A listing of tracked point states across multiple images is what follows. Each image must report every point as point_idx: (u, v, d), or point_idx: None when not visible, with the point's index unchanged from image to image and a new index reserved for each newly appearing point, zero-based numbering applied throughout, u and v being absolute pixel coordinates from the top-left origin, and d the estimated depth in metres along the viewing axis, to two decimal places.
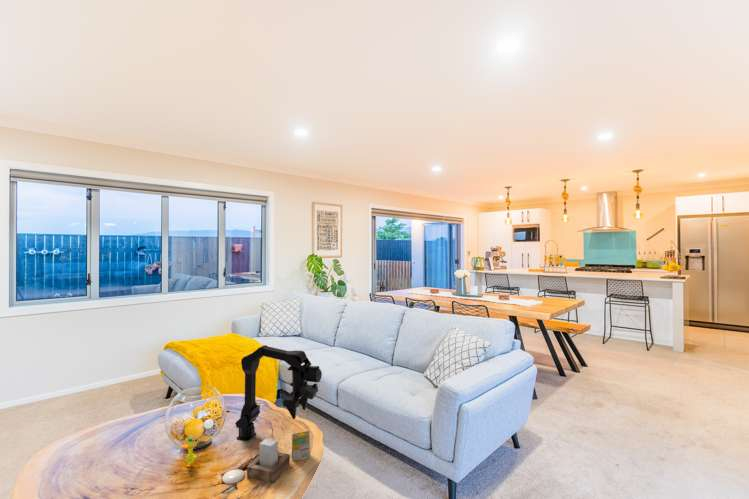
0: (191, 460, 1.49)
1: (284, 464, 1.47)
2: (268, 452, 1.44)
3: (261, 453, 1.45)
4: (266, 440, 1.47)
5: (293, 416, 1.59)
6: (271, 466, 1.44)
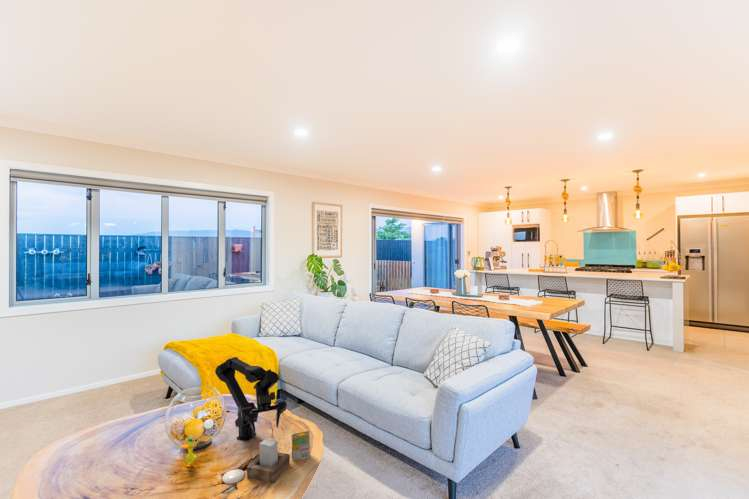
0: (191, 460, 1.49)
1: (284, 464, 1.47)
2: (268, 452, 1.44)
3: (261, 453, 1.45)
4: (266, 440, 1.47)
5: (253, 429, 1.52)
6: (271, 466, 1.44)
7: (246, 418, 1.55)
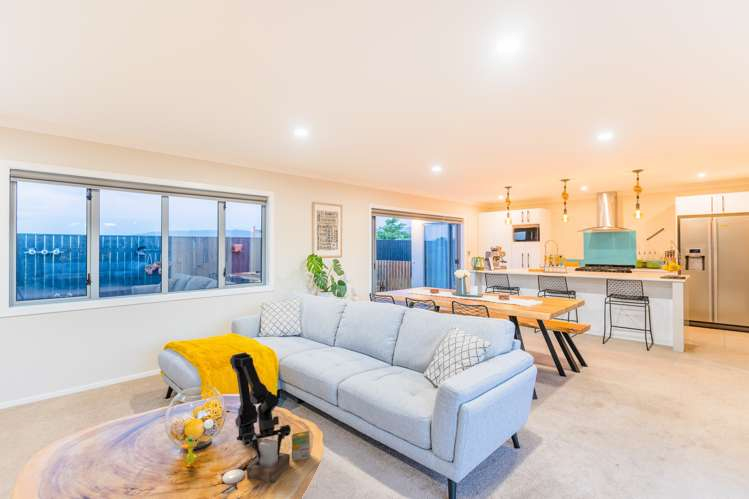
0: (191, 460, 1.49)
1: (284, 464, 1.47)
2: (268, 452, 1.44)
3: (261, 453, 1.45)
4: (266, 440, 1.47)
5: (258, 456, 1.44)
6: (271, 465, 1.44)
7: (250, 444, 1.47)
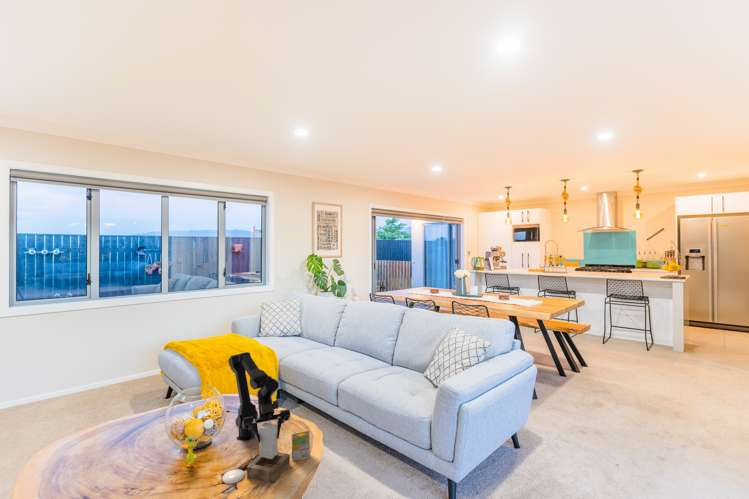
0: (191, 460, 1.49)
1: (284, 464, 1.47)
2: (267, 436, 1.44)
3: (261, 437, 1.45)
4: (265, 424, 1.47)
5: (257, 440, 1.44)
6: (270, 449, 1.44)
7: (250, 428, 1.47)
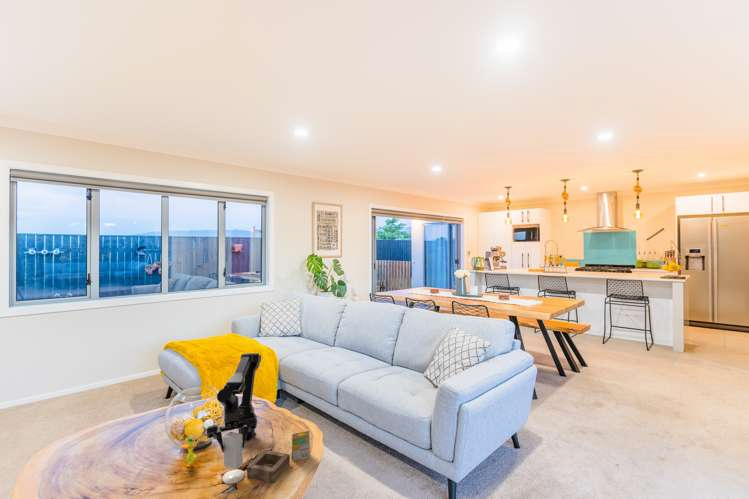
0: (191, 460, 1.49)
1: (284, 464, 1.47)
2: (231, 445, 1.40)
3: (225, 446, 1.42)
4: (230, 433, 1.44)
5: (221, 449, 1.41)
6: (235, 459, 1.40)
7: (214, 437, 1.43)
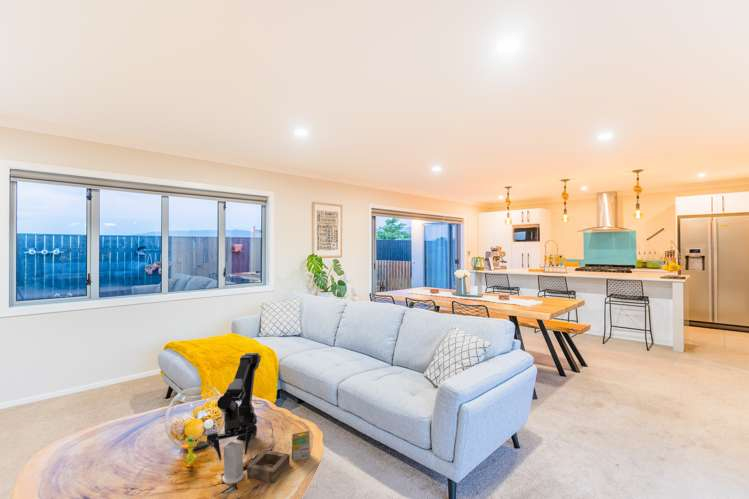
0: (191, 460, 1.49)
1: (284, 464, 1.47)
2: (232, 456, 1.41)
3: (225, 456, 1.42)
4: (231, 443, 1.44)
5: (219, 457, 1.40)
6: (235, 469, 1.40)
7: (212, 444, 1.43)
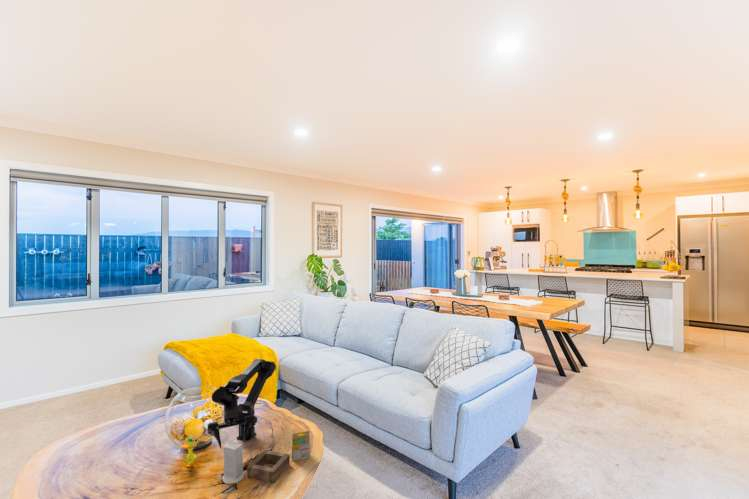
0: (191, 460, 1.49)
1: (284, 464, 1.47)
2: (232, 456, 1.41)
3: (225, 456, 1.42)
4: (231, 443, 1.44)
5: (219, 445, 1.49)
6: (235, 470, 1.40)
7: (212, 433, 1.51)
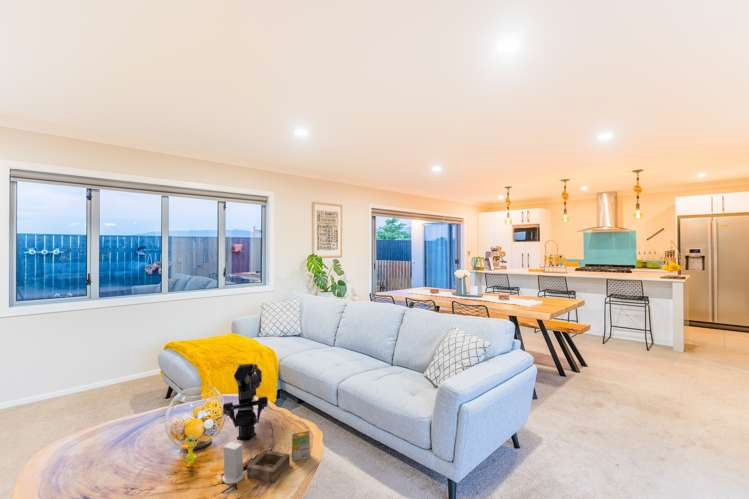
0: (191, 460, 1.49)
1: (284, 464, 1.47)
2: (232, 456, 1.41)
3: (225, 456, 1.42)
4: (231, 443, 1.44)
5: (234, 424, 1.56)
6: (235, 470, 1.40)
7: (227, 413, 1.58)
